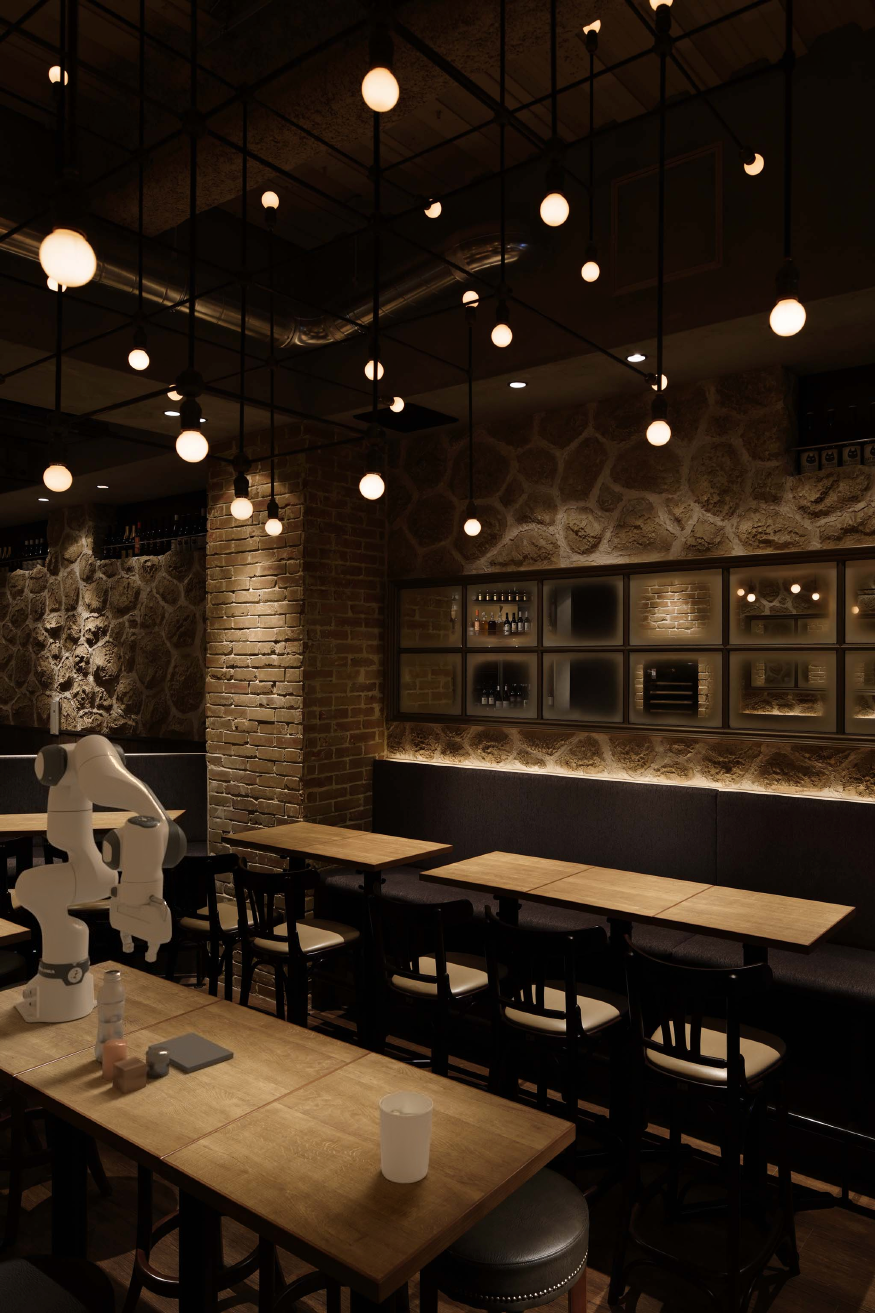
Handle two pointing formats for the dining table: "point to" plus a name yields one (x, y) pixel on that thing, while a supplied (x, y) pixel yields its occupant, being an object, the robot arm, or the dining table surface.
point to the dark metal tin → (157, 1062)
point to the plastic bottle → (109, 1011)
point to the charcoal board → (194, 1052)
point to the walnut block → (129, 1075)
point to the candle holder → (405, 1135)
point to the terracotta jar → (113, 1056)
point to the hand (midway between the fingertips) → (139, 956)
